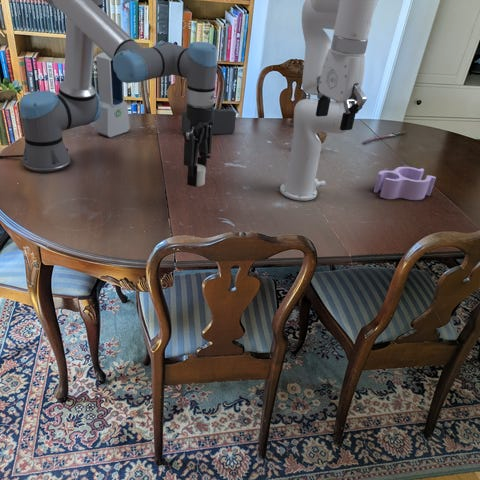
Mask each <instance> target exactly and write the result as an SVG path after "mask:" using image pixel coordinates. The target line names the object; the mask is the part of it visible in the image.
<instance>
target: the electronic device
mask: <svg viewBox="0 0 480 480" xmlns="http://www.w3.org/2000/svg"><path fill="white" fill-rule="evenodd" d="M95 60H96V77H97V87H98V89H97V91H98V95H99V97H100V100H99V101H100V102H101V105H102V109H101V114H100V116H99V118H98V119H97V120H96V121H95V122H94V128H95V131H96V132H97V133H98V134H99V135H102V136H105V137H107V138H112V137H115V136H118V135H122V134H124V133H126V132H129V130H130V128H131V126H130V116H129V108H128V103H127V102H126V101H125V92H124V91H125V86H124V82H122V81H121V80H120V79H119V78H118V77H117V74H116V72H114V68H113V60H112V59H111V58H110V57H109V56H107V55H106V54H105V53H104V52H100V53H98V54H97V55H96V56H95Z"/></svg>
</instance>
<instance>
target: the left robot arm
mask: <svg viewBox="0 0 480 480" xmlns="http://www.w3.org/2000/svg"><path fill="white" fill-rule="evenodd" d="M44 1H45V3H47V4H48V5H49V6H50V7H51V8H52V9H55V10H59V11H60V12H61V13H62V14H64V15H65V16H66V20H65V21H66V23H65V45H64V46H65V48H64V49H65V51H64V75H63V80H62V81H61V82H60V83H59V84H58V93H57V94H56V92H54V91H51V90H41V91H40V90H37V91H32V92H29V93H26V94H24V95H23V96H22V97H21V98H20V100H19V103H18V104H19V116H20V119H21V125H22V132H23V137H24V148H23V153H22V154H12V155H11V154H10V155H0V159H7V158H21V159H22V160H21V161H22V166H23V168H24V169H25V170H27V171H29V172H33V173H39V174H46V173H56V172H61V171H63V170H66V169H67V168H69V167H70V166H71V163H72V159H71V155H70V153H69V148H68V147H66V145H65V143H64V140H63V132H64V131H67V130H71V129H75V128H78V127H79V128H80V127H82V126H88V125H90V124H92V123H95V121H96V120H97V119H98V118H99V116H100V114H101V109H102V105H101V102H100V101H99V100H100V97H99V93H98V92H97V91H96V87H94V86H93V84H92V82H93V68H94V55H95V45H96V46H97V47H98V48H99V49H100V50H101V51H102V53H105V54H106V55H107V56H109V57H110V58H111V59H112V60H113V68H114V72H116V74H117V77H118V78H119V79H120V80H121V81H122V82H123V83H124V84H131V83H142V82H145V81H149V80H153V79H159V78H164V77H169V76H177V77H179V78H184V79H186V85H187V86H186V106H185V107H186V108H185V110H186V117H187V119H189V120H190V122H191V123H190V127H189V131H188V132H184V133H183V139H184V142H183V143H184V145H183V166H187V181H186V185H187V186H190V187H192V188H193V187H194V188H196V187H198V186H197V167H198V166H197V165H196V164H200V165H203V166H205V167H206V168H207V164H208V163H207V161H208V159H211V153H212V144H213V143H212V141H213V134H212V129H213V124H214V122H213V121H212V120H213V117H214V109H215V107H214V105H215V100H216V98H217V95H216V80H217V79H216V78H217V73H218V72H217V71H218V70H217V69H218V65H219V64H218V63H219V62H218V48H217V46H216V45H215V44H213V43H210V42H204V41H192V42H190V43H189V45H188V47H187V46H181V45H178V44H175V43H173V42H170V41H169V42H167V41H158V42H156V44H154V45H153V46H150V47H142V46H141V45H140V44H139V43H138V42H137V41H135V39H134V38H132V37H131V36H130V35H129V33H127V32H126V30H124V29H123V28H122V27H121V26H120V25H118V23H117V22H115V21H114V19H112V18H111V17H110V16H109V15H108V14H107V13H106V12H105V11H104V10H103V8H104V0H44ZM206 179H207V171H206V172H205V180H206Z"/></svg>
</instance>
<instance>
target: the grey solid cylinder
mask: <svg viewBox="0 0 480 480" xmlns="http://www.w3.org/2000/svg"><path fill="white" fill-rule="evenodd" d="M196 165H197V166H198V167H197V186H196V187H202V186H205V184H206V179H205V172H206V173H207V166H206V167H205V166H203V165H200V164H197V163H196Z"/></svg>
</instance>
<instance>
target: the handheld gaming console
mask: <svg viewBox="0 0 480 480" xmlns="http://www.w3.org/2000/svg"><path fill="white" fill-rule="evenodd" d="M236 119H237V112H236V111H235V109H229V108H227V109H226V108H214V117H213V120H212V121H213V122H214V124H213V129H212V135H222V134H224V135H226V134H234V132H236ZM190 123H191V122H190V120H189V119H187V117H186V109H184V110H183V111H182V112H181V130H180V131H181V132H182V133H183V134H184V132H188V131H189V127H190Z"/></svg>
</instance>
